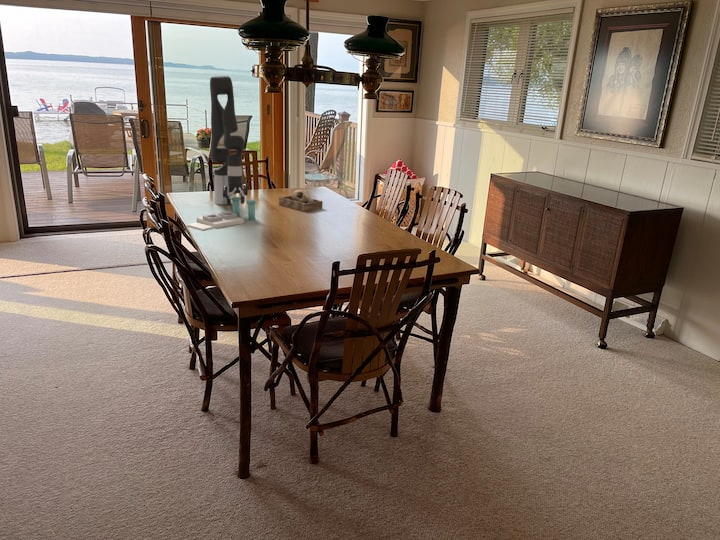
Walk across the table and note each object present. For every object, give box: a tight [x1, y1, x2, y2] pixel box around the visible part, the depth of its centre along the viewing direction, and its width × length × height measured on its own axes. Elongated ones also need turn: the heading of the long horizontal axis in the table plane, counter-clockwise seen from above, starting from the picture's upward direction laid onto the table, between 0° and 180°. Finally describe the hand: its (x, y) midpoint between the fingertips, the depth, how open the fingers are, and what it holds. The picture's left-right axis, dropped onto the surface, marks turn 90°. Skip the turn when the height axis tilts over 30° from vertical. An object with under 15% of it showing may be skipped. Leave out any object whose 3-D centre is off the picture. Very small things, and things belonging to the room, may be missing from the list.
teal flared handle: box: [231, 196, 241, 218], centre depth 285 cm, size 5×5×10 cm
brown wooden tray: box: [278, 195, 323, 213], centre depth 316 cm, size 23×14×4 cm, turn 48°
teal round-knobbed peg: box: [246, 199, 257, 221], centre depth 280 cm, size 5×5×10 cm
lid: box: [186, 221, 214, 231], centre depth 261 cm, size 12×6×1 cm, turn 56°
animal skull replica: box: [291, 189, 314, 204], centre depth 314 cm, size 8×17×10 cm, turn 52°
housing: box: [196, 211, 245, 229], centre depth 272 cm, size 17×17×4 cm
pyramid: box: [242, 169, 249, 188], centre depth 364 cm, size 13×13×18 cm
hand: (235, 204), depth 284 cm, fingers open, 8 cm apart
